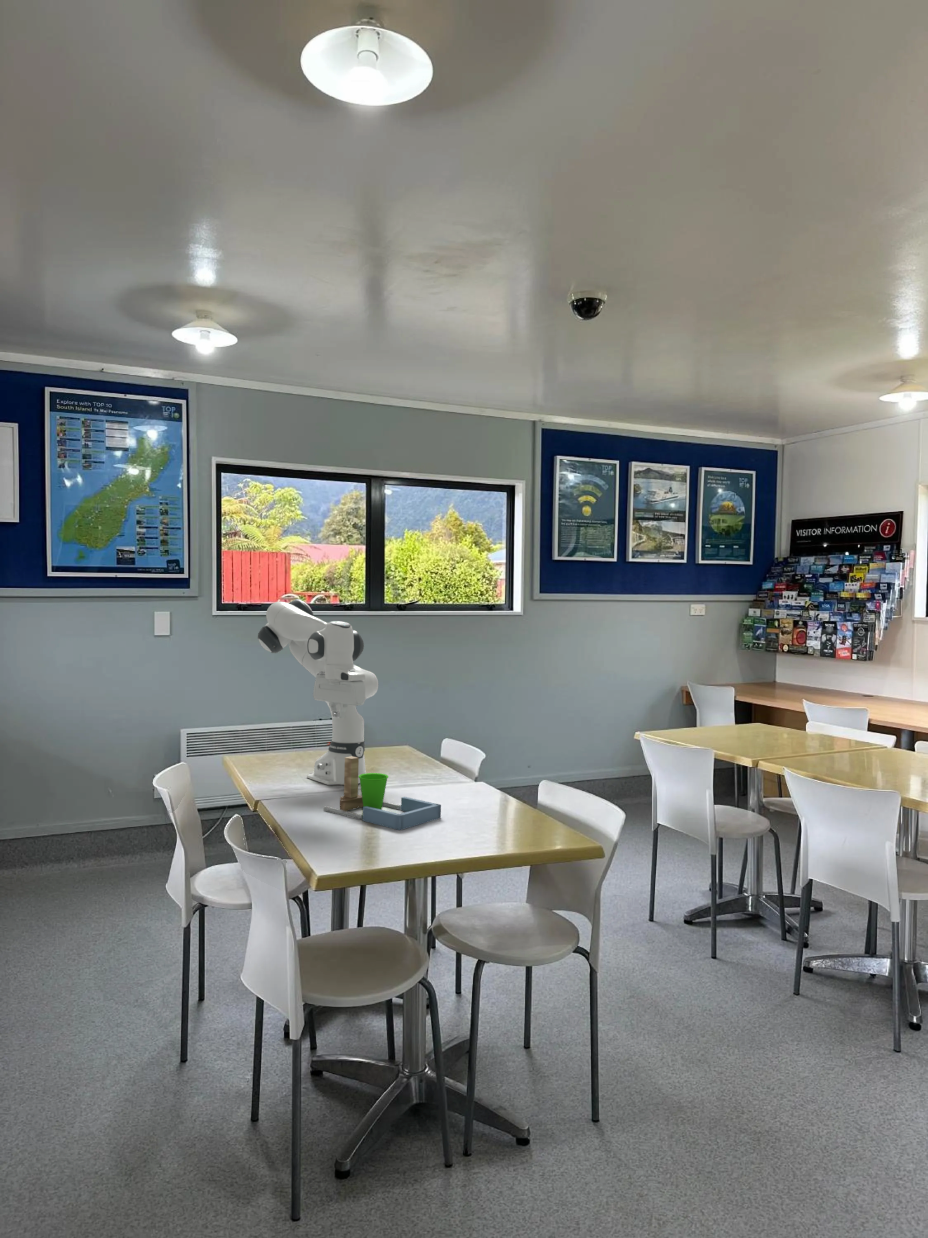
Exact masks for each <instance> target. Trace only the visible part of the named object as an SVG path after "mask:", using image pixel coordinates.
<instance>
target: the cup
mask: <svg viewBox="0 0 928 1238" xmlns="http://www.w3.org/2000/svg"><path fill="white" fill-rule="evenodd" d="M359 778H360V783H359V784H360V790H361V795H362V800H363V807H365V806H368V807H372V808H377V809H381V810H383V806H382V805H383V801H384V800H385V799H384V798H385V792H386V789H387V788H386V787H387V781H388V778H389V775H388V774H385V773H380V772H369V773H368V772H366V774H361V775H359ZM363 807H362V808H363Z"/></svg>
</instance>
